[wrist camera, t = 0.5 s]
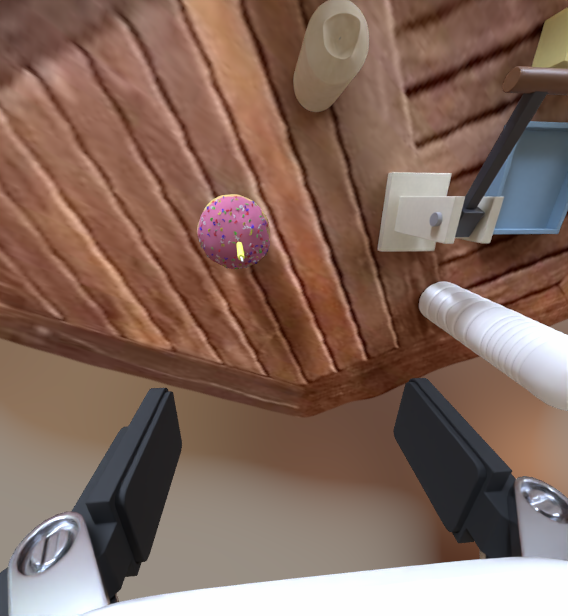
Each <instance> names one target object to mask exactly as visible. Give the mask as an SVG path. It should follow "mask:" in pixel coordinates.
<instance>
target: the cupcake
mask: <svg viewBox="0 0 568 616" xmlns="http://www.w3.org/2000/svg"><path fill="white" fill-rule="evenodd" d="M197 235H198V238H199V242H200V243H201V247H202V248H203V249H204V251H205V253H206V254H207V257H209V258H210V259H211V260H213V261H215V262H217V263H219V264H220V265H222V266H224V267H226V268H231V269H240V268H247V267H249V266H251V265H253V264H257V263H256V262H258V261H259V260H261V259H262V258H263V257H264V256H266V253H267V251H268V249H269V246H270V241H269V237H270V230H269V222H268V219H267V217H266V215H265V214H264V213H263V211H262V210H261V208H260V207H259V206H258V205H257V204H256V203H255V202H254V201H252V200H250V199H248V198H246V197H243V196H240V195H236V194H233V195H222V196H219V197H217V198H215V199H214V200H212V201H211V202H210V203H209V204H208V205H207V206H206V208H205V209H204V211H203V213H202V215H201V218H200V220H199V223H198V227H197Z"/></svg>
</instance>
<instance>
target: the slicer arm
mask: <svg viewBox="0 0 568 616" xmlns="http://www.w3.org/2000/svg"><path fill="white" fill-rule="evenodd" d="M502 89H503V91H504V92H506V93H524V94H523V96H522V97H521V99H520V101H519V103H518V104H517V106H516V108H515V110H514V111H513V113H512V115H511V117H510V119H509V120H508V122H507V124H506V126H505V127H504V129H503V131H502V133H501V134H500V136H499V138H498V140H497V141H496V143H495V145H494V147H493V149H492V150H491V152H490V154H489V156H488V157H487V159H486V161H485V163H484V164H483V166H482V168H481V170H480V172H479V173H478V175H477V177H476V179H475V180H474V182H473V184H472V186H471V187H470V189H469V191H468V193H467V194H466V196H465V200H464V204H463V207H462V211H461V215H460V219H459V223H458V227H457V231H456V235H455V237H469V236H470V235H471V233H472V232H473V230H474V229H475V227H476V226H477V224H478V223H479V221H480V220H481V218H482V217H483V215H484V214H485V212H484V211H483V210H481V209H480V208H479V207H478V205H479V203H480V201H481V200H482V198H483V197H484V195H485V193H486V192H487V190H488V188H489V187H490V185H491V184H492V182H493V180H494V179H495V177H496V176H497V174H498V172H499V171H500V169H501V167H502V166H503V164H504V163H505V161H506V159H507V158H508V156H509V155H510V153H511V151H512V150H513V148H514V146H515V145H516V143H517V142H518V140H519V138H520V137H521V135H522V134H523V132H524V130H525V129H526V127H527V125H528V124H529V122H530V121H531V119H532V117H533V116H534V114H535V113H536V111H537V109H538V108H539V106H540V104H541V103H542V101H543V100H544V98H545V96H546V95H547V94H552V95H568V69H563V68H544V67H524V66H517V67H514V68H513V69H512V70H511V71H510V72H509V73H508V74H507V76H506V77H505V79H504V82H503V87H502Z"/></svg>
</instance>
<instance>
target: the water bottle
mask: <svg viewBox="0 0 568 616" xmlns="http://www.w3.org/2000/svg"><path fill="white" fill-rule="evenodd" d="M419 302H420V303H419V310H420V312H421V313H422V315H423V316H424V317H426V318H427V319H429V320H430V321H431V322H433V323H434V324H436V325H437V326H438V327H440V328H442V329H443V330H444V331H445V332H447V333H448V334H450V335H452V336H453V337H454V338H455V339H457V340H458V341H460V342H461V343H462V344H463V345H465V346H466V347H468V348H469V349H471V350H472V351H473V352H475V353H476V354H477V355H479V356H480V357H482V358H483V359H485V360H486V361H488V362H489V363H491V364H492V365H493V366H495V367H496V368H498V369H499V370H500V371H502V372H503V373H505V374H506V375H507V376H508V377H510V378H511V379H513V380H514V381H516V382H517V383H518V384H520V385H521V386H522V387H524V388H525V389H527V390H528V391H529V392H531V393H532V394H533V395H534V396H536V397H537V398H538V399H540V400H541V401H543V402H544V403H546V404H548V405H550V406H552V407H555V408H558V409H561V410H565V411H568V335H565V334H563V333H561V332H559V331H556V330H554V329H553V328H550V327H547V326H546V325H544V324H541V323H539V322H537V321H534V320H532V319H530V318H528V317H525V316H524V315H522V314H519V313H518V312H515V311H513V310H510V309H507V308H505V307H504V306H502V305H500V304H497V303H494V302H492V301H490V300H488V299H486V298H482V297H481V296H479V295H477V294H475V293H471V292H470V291H468V290H466V289H463V288H461V287H459V286H457V285H454V284H452V283H450V282H445V281H442V282H437V283H435V284H432V285H430V286H429V287H428V288H427V289H426V290H425V292H423V293H422V295H421V297H420V299H419Z"/></svg>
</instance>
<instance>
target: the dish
mask: <svg viewBox="0 0 568 616" xmlns="http://www.w3.org/2000/svg"><path fill="white" fill-rule="evenodd" d="M505 126H506V125H505ZM505 126H504V127H505ZM484 197H504V199H503V202H502V206H501V209H500V212H499V215H498V219H497V222H496V225H495V228H494V232H493V234H558V233H559V229H560V227H561V225H562V223H563V220H564V218H565V215H566V213H567V210H568V123H563V122H532V121H530V122H529V124H528V125H527V127H526V129H525V130H524V132H523V134H522V135H521V137H520V138H519V140H518V142H517V143H516V145H515V146H514V148H513V150H512V151H511V153H510V155H509V156H508V158H507V159H506V161H505V163H504V164H503V166H502V167H501V169H500V171H499V172H498V174H497V176H496V177H495V179H494V180H493V182H492V184H491V185H490V187H489V188H488V190H487V192H486V193H485V196H484Z"/></svg>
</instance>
